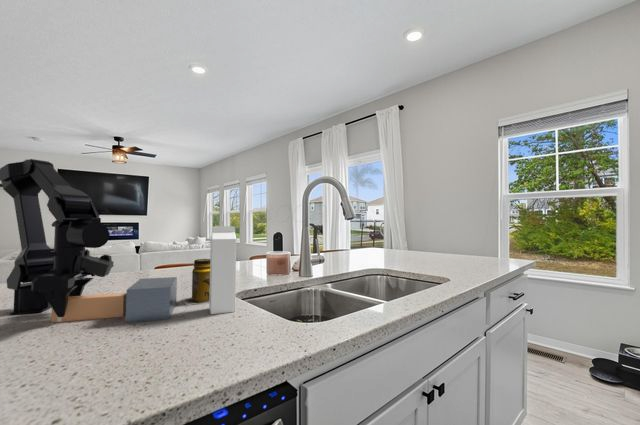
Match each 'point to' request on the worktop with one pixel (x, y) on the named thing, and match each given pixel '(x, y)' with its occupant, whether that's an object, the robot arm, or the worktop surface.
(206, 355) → the worktop surface
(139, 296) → the gray block
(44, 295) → the robot arm
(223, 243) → the milk
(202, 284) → the condiment
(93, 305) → the tan banded carton
